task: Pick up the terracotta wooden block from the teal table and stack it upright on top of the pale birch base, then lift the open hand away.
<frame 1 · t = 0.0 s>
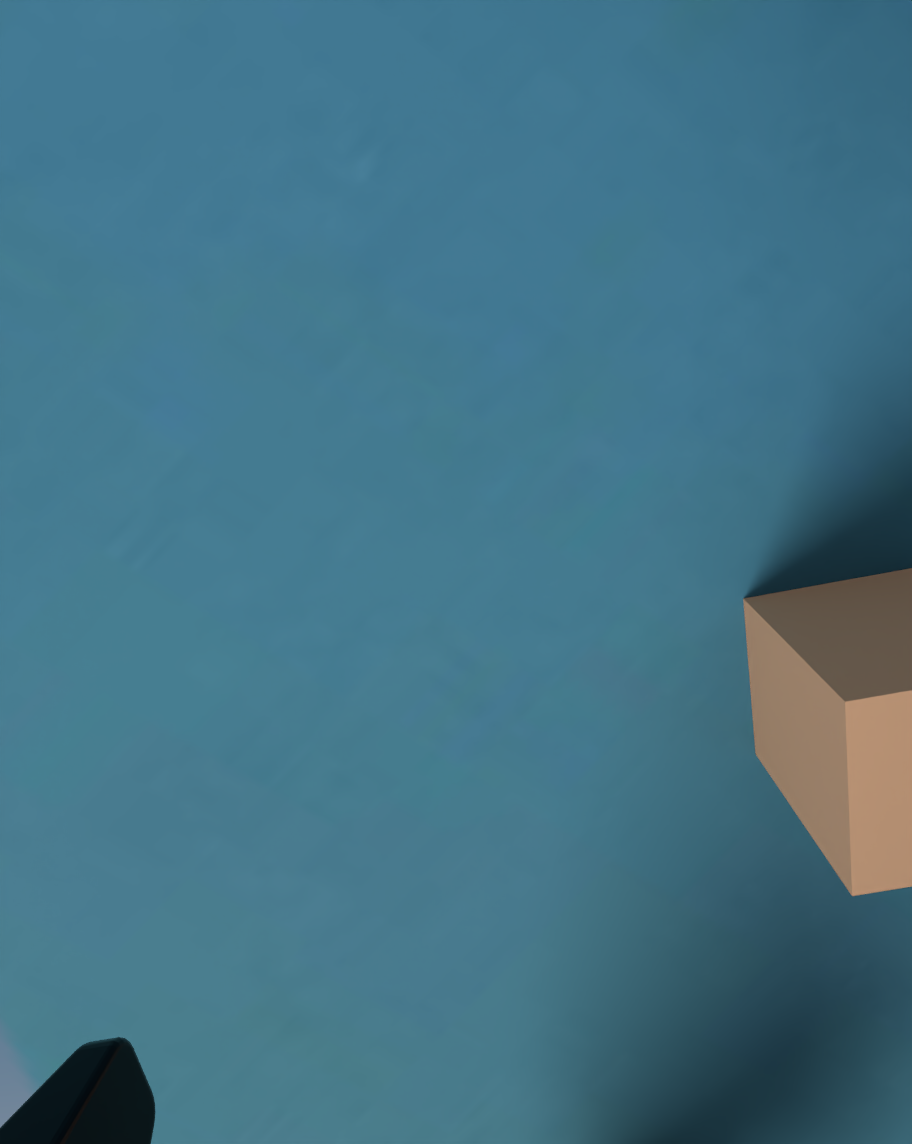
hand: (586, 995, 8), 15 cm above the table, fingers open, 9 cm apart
terracotta block: (837, 662, 23), on the table
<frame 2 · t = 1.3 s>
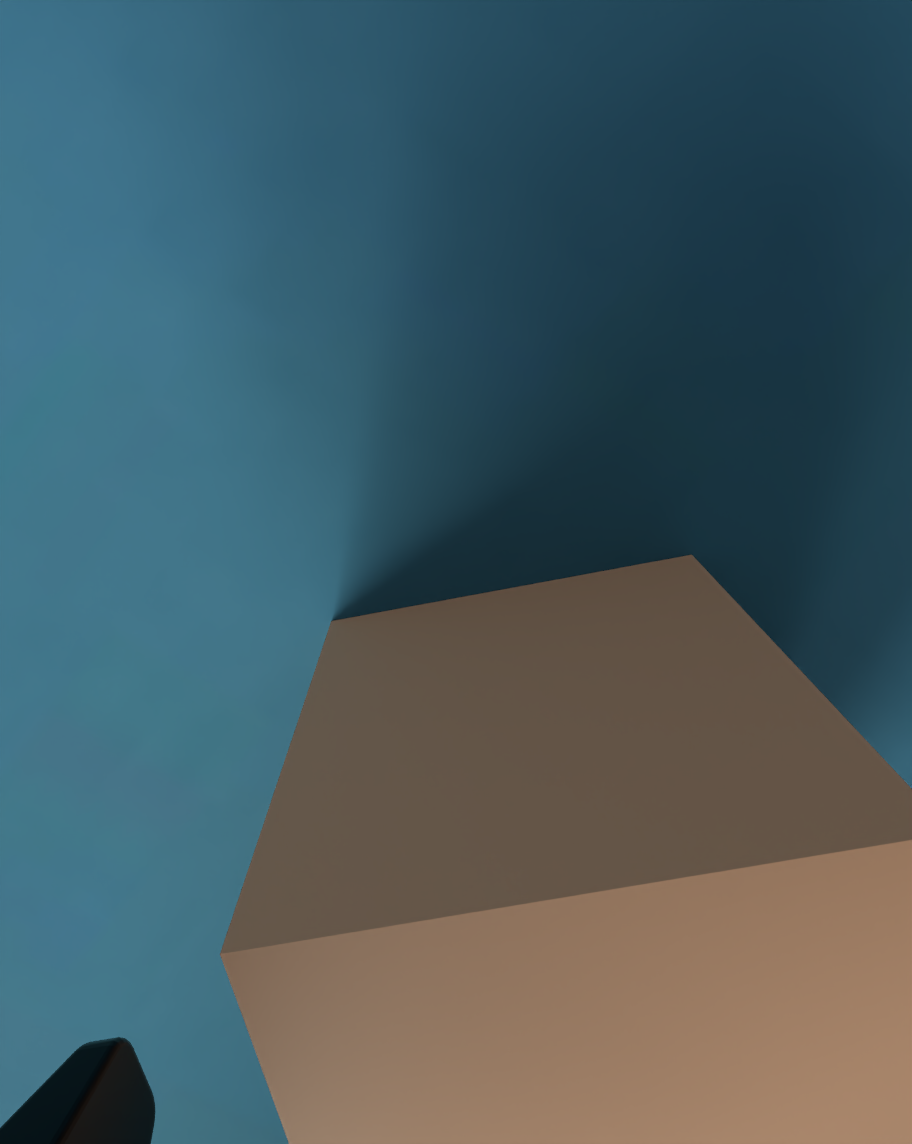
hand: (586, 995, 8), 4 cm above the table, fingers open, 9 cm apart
terracotta block: (537, 743, 12), on the table
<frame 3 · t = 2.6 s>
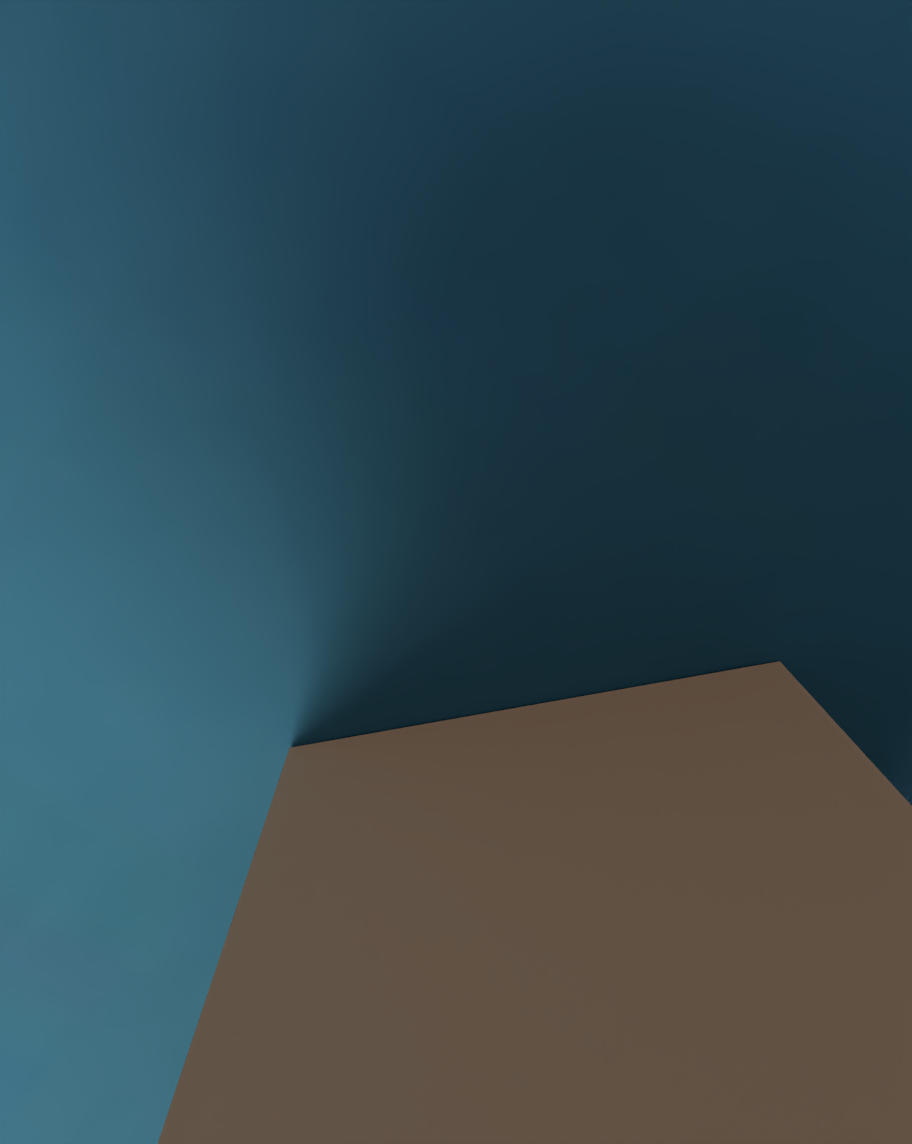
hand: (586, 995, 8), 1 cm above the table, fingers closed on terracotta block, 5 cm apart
terracotta block: (566, 902, 9), on the table, touching gripper
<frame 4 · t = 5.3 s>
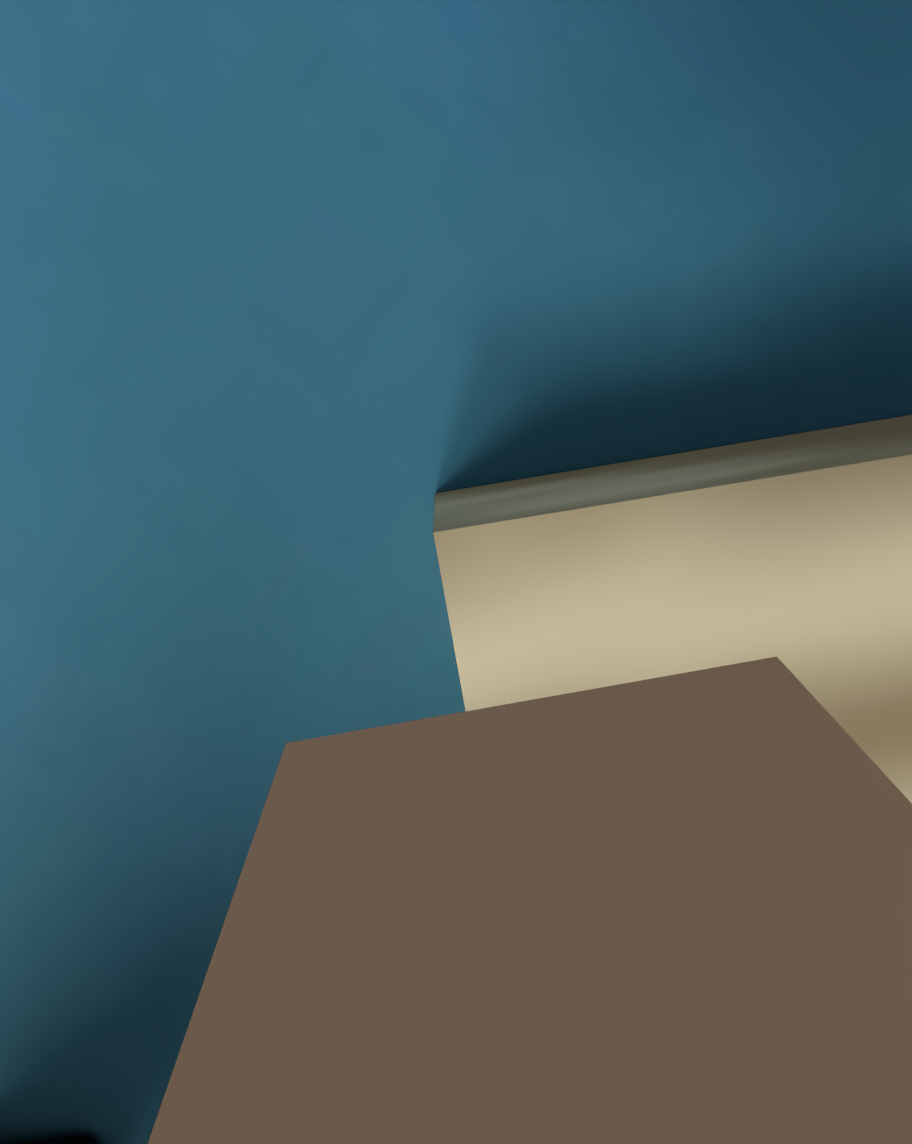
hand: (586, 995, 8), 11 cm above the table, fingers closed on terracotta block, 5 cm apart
terracotta block: (563, 898, 9), point 10 cm above the table, touching gripper
birch base: (728, 696, 19), on the table
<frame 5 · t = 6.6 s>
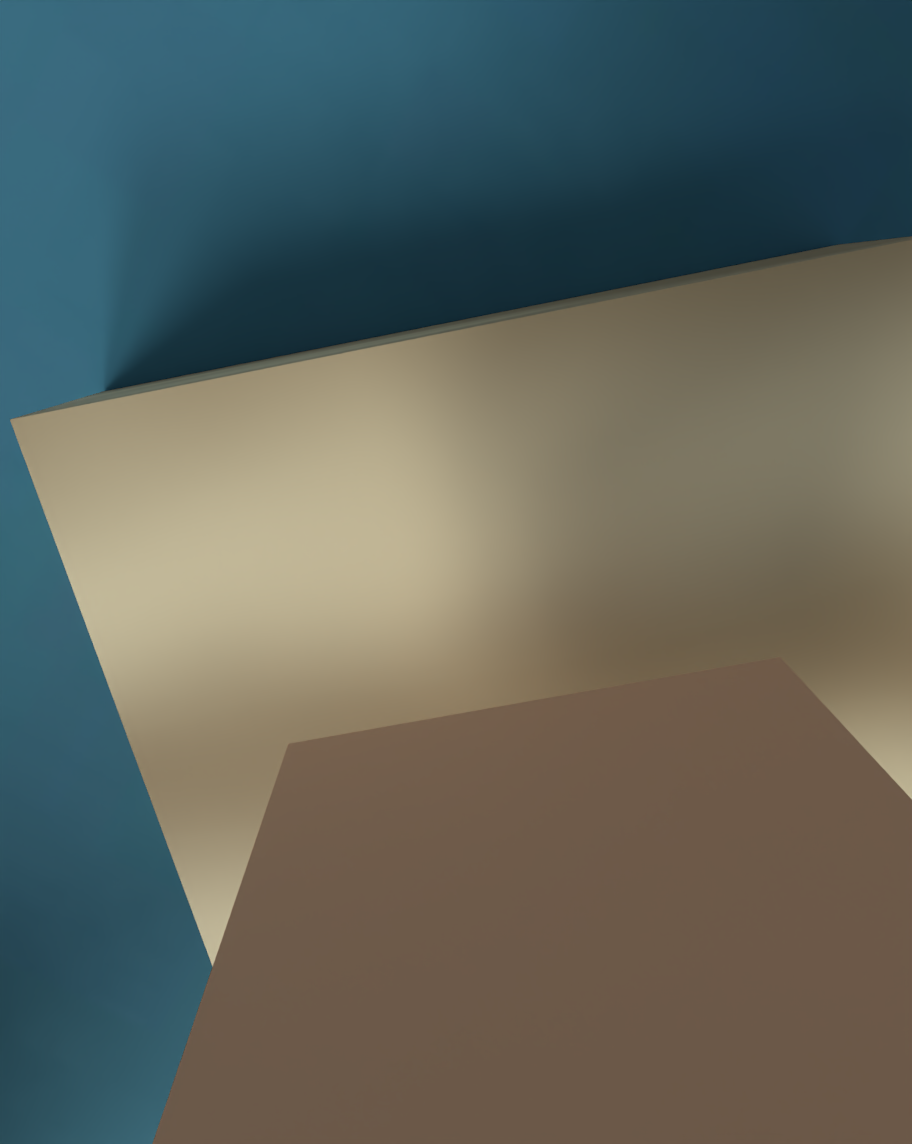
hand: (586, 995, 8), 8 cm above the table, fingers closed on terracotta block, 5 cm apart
terracotta block: (566, 899, 9), point 6 cm above the table, touching gripper
birch base: (521, 654, 15), on the table
when the fingers open (6 cm above the table, at t = 7.8 s): terracotta block drops 1 cm, resting on birch base.
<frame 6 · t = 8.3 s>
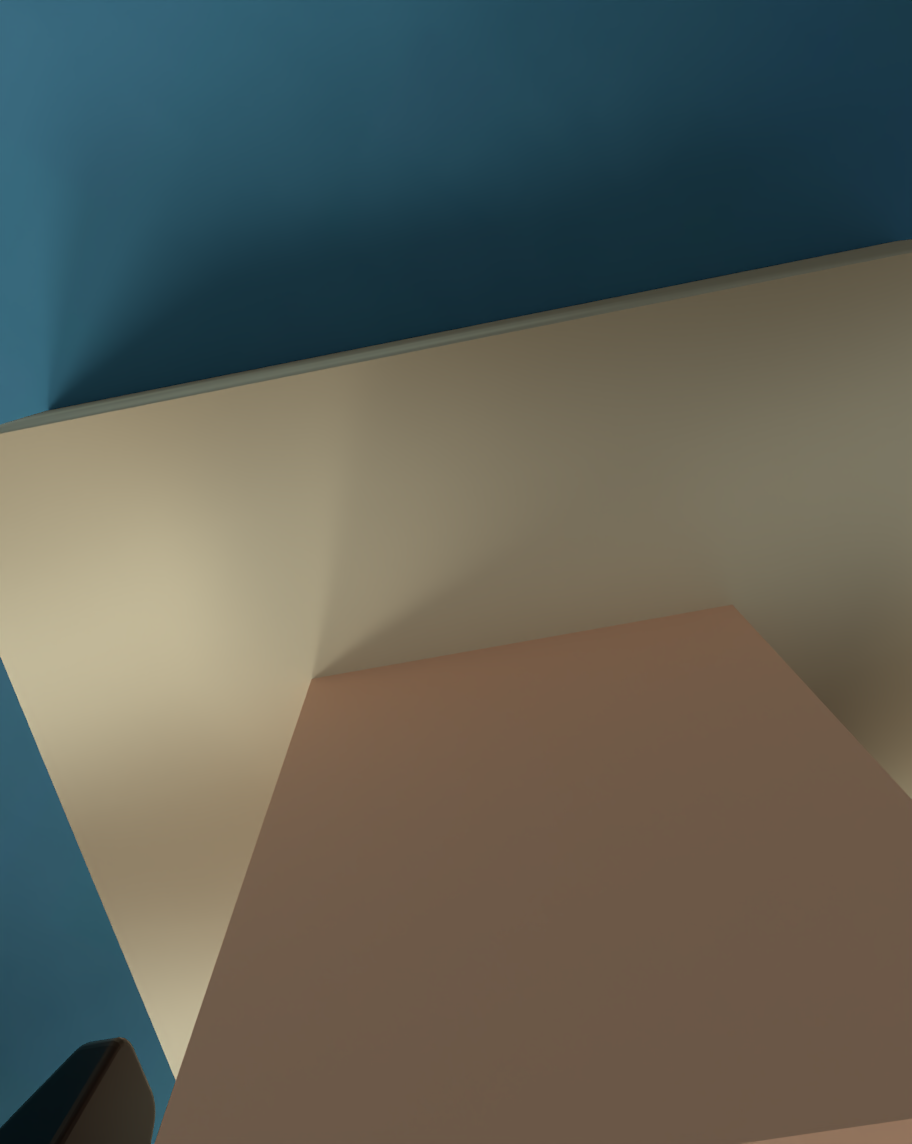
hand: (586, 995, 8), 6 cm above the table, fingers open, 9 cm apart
terracotta block: (550, 819, 10), point 3 cm above the table, touching birch base
birch base: (529, 707, 13), on the table
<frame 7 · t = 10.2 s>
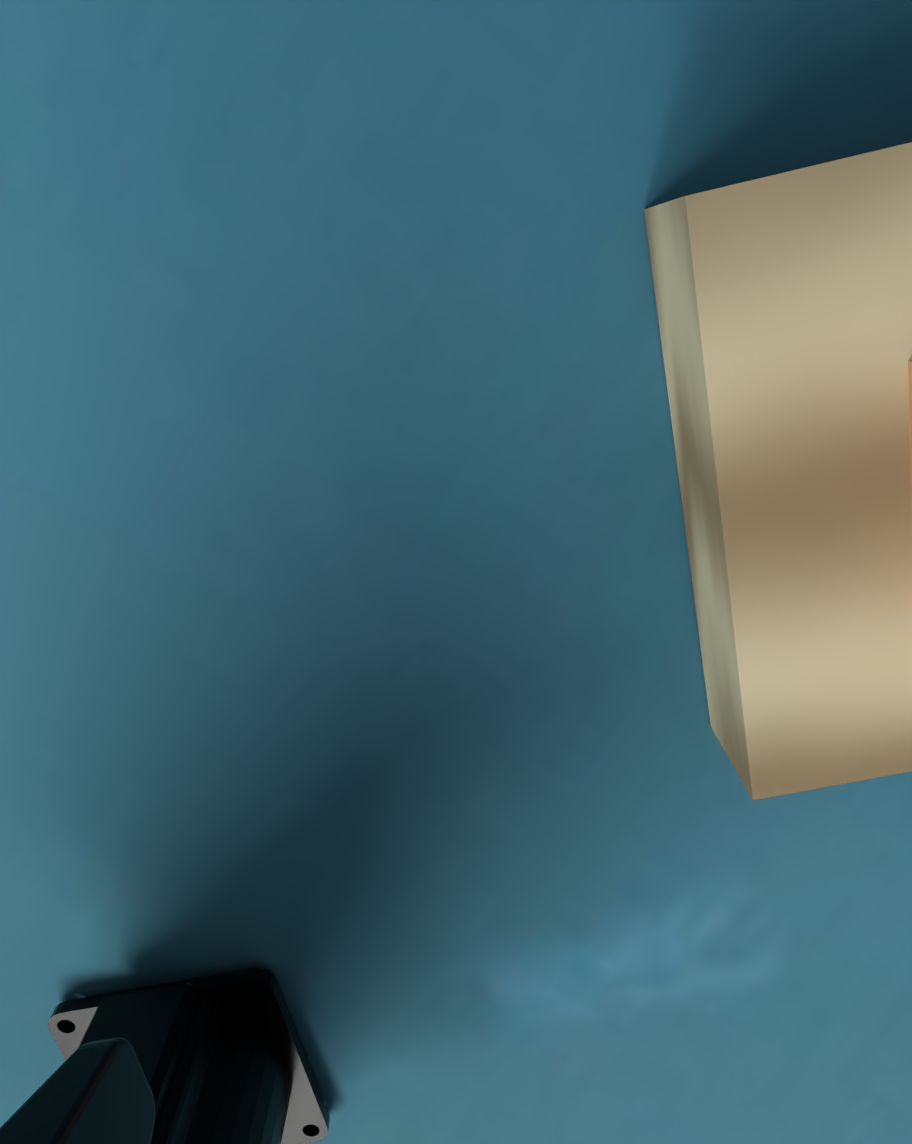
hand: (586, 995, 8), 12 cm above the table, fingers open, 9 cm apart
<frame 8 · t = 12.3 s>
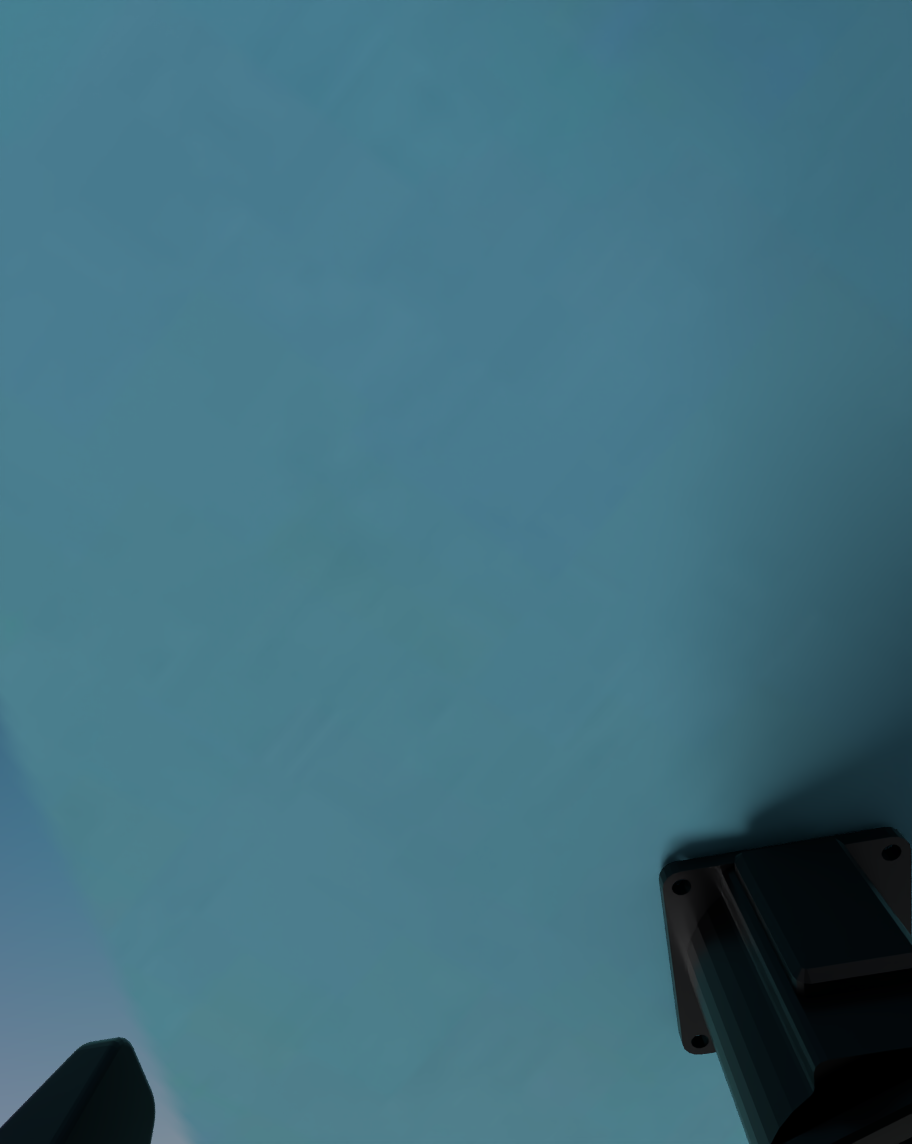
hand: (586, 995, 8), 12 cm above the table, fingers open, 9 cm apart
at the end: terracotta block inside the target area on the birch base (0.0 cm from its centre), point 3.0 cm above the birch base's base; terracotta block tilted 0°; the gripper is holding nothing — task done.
